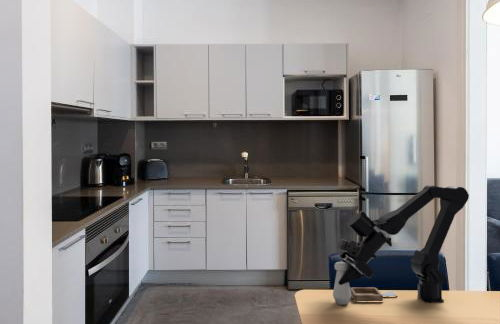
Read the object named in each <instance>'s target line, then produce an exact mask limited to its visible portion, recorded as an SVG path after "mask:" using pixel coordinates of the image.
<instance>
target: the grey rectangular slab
mask: <svg viewBox="0 0 500 324" xmlns="http://www.w3.org/2000/svg"><path fill="white" fill-rule="evenodd" d="M386 292H387V293H383V294H382V295H383V296H397V297H398V295H397V294H396V293H395V292H394V291H392V292H389V291H386Z"/></svg>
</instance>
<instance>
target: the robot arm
mask: <svg viewBox="0 0 500 324" xmlns="http://www.w3.org/2000/svg"><path fill="white" fill-rule="evenodd" d="M469 197H470V194H469V193H468V191H467V189H466V188H464V187H462V186H446V187H441V186H437V185H433V184H432V185H431V184H429V185H425V186H424V187H423V188H422V189H421V190H420V191H419V192H417V193H416V194H414V195H413V196H412V197H411V198H409V199H408V200H407V201H406V202H405V203H404V204H402V205H400V206H399V207H398V208H397V209H394V210H392V211H389V212H387V213H384V214H383V215H381V216H380V217H379V218H378V219H373V220H372V219H371V218H370V217H368V215H367V214H366V212H364V211H363V210H360V211H359V212H358V213H355V214H354V215H353V216H351V217H350V218H349V219H348V221H347V223H346V225H347V227H348V228H350V229H351V231H353V232H354V233H355V235H357V236H358V237H359V238H364V239H362V241H361V242H360V241H358V242H356V241H354V240H352V239H349V240H348V241H347V240H346V239H343V238H340V239H339V241H338V243H337V246H336V248H338V249H339V250H340V251H339V252H338V253H337V255H338V256H339V257H340V259H339V260H340V262H346V263H347V264H348V268H347V270H346V272H345V273H344V274H343V276H342V277H341V279H340V280H339V282H338V283H339V284H340V285H342V284H345V283H347V282H349V283H350V282H352V281H355V280H357V279H360V278H364V275H365V277H366V278H367V279H371V278H372V277H374V273H375V272H374V269H373V268H371V266H370V265H369V264H368V263H369V262H370V261H371V260H372V259H376V257H377V255H376V254H377V253H378V252H379V251H380V250H381V248H383V246H384V245H386V246H388V247H392V246H393V244H392V238H391V237H390V236H396V235H398V234H399V233H400V232H401V231H402V230H403V228H405V226H406V223H407V221H409V219H410V218H411V217H413V216H414V215H415V214H417V213H418V212H419V211H421V209H423V208H424V207H425V206H427V205H428V204H429V203H430V202H432V201H433V200H434V199H439V206H440V210H439V211H438V214H437V216H436V219H435V221H434V223H433V226H432V228H431V230H430V233H429V235H428V237H427V240H426V242H425V245H424V247H423V248H422V249H421V250H418V249H415V250H414V253H413V256H412V258H411V259H410V262H411V265H410V266H411V269H412V271H413V273H415V275H416V278H418V284H417V297H418V298H419V299H420V300H421V301H423V302H424V303H425V302H426V303H427V302H431V303H432V302H435V303H436V302H439V303H441V302H442V303H444V302H445V300H444V299H443V295H442V293H443V292H442V291H443V289H442V288H443V287H442V285H443V284H445V282H446V281H445V280H446V276H445V275H444V274H443V273H441V271H440V270H439V267H440V252H441V250H442V247H443V245H444V242H445V239H446V238H447V236H448V233H449V230H450V228H451V225H452V224H453V221H454V218H455V216H456V214H458V213H459V212H460V211H461V210H463V208H464V207H465V205H466V204H467V202H468V200H469ZM376 229H377V230H379V231H377V230H376ZM385 234H388V235H390V236H386V235H385ZM363 274H364V275H363ZM335 279H336V277H335V278H334V280H335Z"/></svg>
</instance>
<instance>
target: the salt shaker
mask: <svg viewBox="0 0 500 324" xmlns="http://www.w3.org/2000/svg"><path fill="white" fill-rule="evenodd" d="M347 268H348V264H347V263H346V262H341V261H337V262H335V263H334V270H336V274H335V278H336V279H335V278H334V286H333V292H332V296H333V299H334V302H335V304H338V305H339V306H340V305H341V306H343V305H348V304H350V302H351V300H352V297H351V291H350V288H351V286H350V282H347V283H345V284H342V285H340V284H339V283H338V282H339V280H340V279H341V277H342V276H343V274H344V273H345V272H346V270H347Z"/></svg>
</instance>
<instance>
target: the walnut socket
mask: <svg viewBox="0 0 500 324" xmlns="http://www.w3.org/2000/svg"><path fill="white" fill-rule="evenodd" d="M350 291H351V296H352V297H353V299H354V300H353V299H352V300H353V301H355V302H354V303H358V302H357V301H383V299H384V298H383V295H382V294H381V293H380V292H381V291H380V290H379V289H378V288H377V287H350ZM352 297H351V298H352ZM383 302H384V301H383Z"/></svg>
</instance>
